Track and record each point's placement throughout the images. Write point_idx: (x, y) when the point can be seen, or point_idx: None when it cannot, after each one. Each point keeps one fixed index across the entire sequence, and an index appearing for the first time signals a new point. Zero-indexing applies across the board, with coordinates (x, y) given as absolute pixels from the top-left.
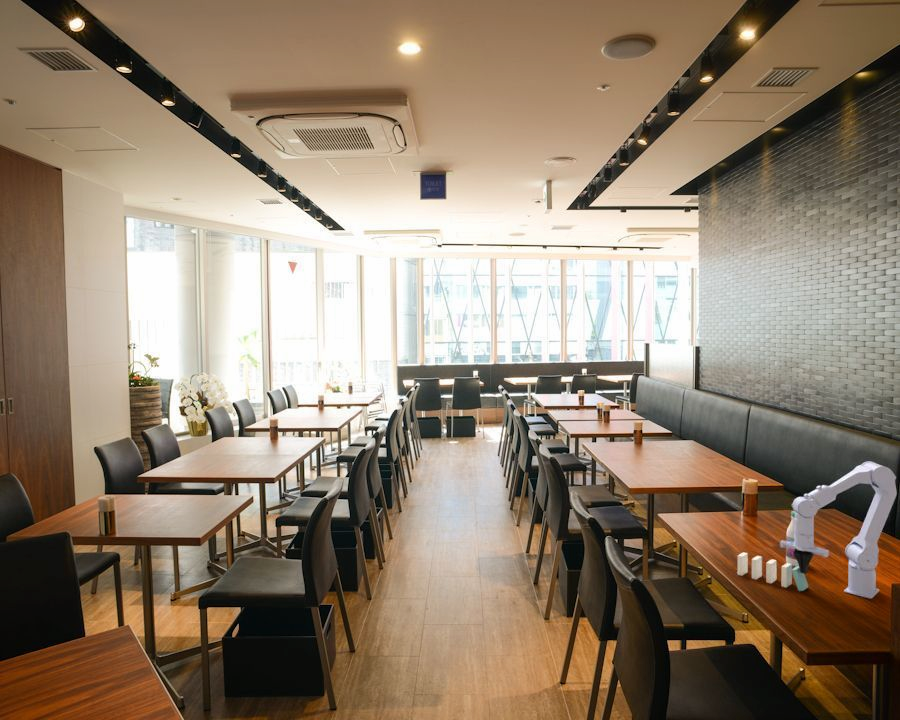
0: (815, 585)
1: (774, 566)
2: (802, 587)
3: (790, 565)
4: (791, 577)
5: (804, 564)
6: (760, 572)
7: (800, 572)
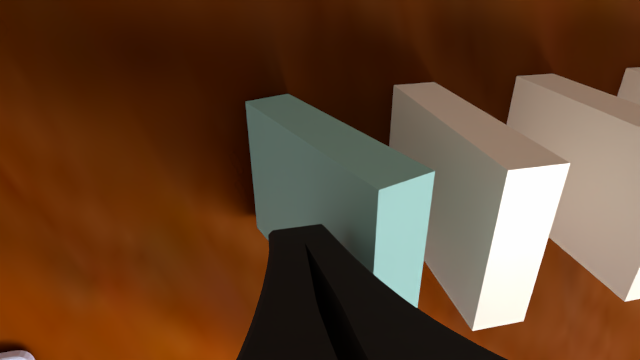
0: (244, 303)
1: (599, 216)
2: (258, 113)
3: (475, 291)
4: None
5: (286, 315)
6: None
7: None
